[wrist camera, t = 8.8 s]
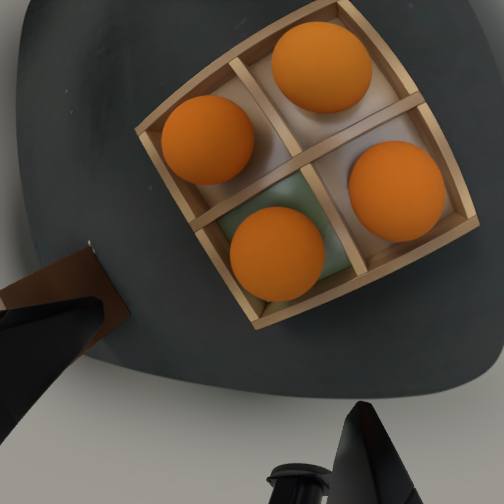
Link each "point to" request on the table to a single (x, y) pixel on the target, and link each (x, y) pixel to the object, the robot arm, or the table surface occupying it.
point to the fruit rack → (310, 162)
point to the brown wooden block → (69, 289)
